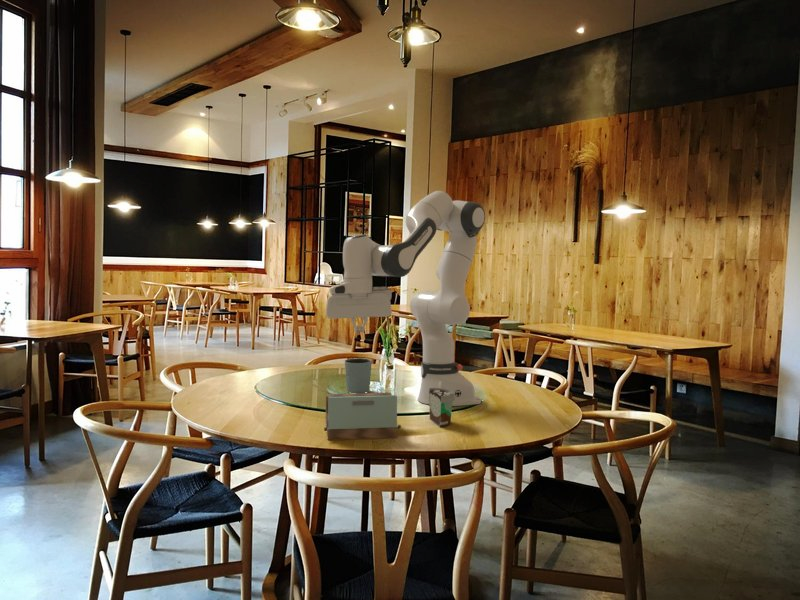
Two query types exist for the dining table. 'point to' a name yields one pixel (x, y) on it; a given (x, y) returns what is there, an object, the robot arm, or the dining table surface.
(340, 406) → the panel
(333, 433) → the brown open box
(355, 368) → the gray cup
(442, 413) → the food container
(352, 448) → the dining table surface
